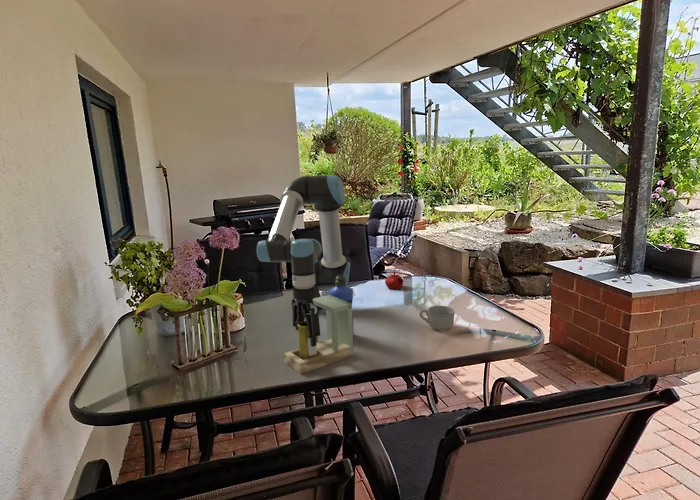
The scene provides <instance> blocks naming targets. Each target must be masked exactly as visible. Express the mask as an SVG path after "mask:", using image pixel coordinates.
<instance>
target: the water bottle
mask: <svg viewBox="0 0 700 500" xmlns="http://www.w3.org/2000/svg"><path fill="white" fill-rule="evenodd" d="M344 279H345V277H344V276H343V275H338V276H337V277H336V280H335V285H336V286H335V287H334V286H332V287H331V288H330V289H329V290H328V295H331V296H333V297H336V298H338V299H341V300H344V301H346V302H349V303H351V304H352V305H353V299H354V289H353V288H351V287H350V286H348V285H346V280H344ZM352 327H353V328H354V314H353V311H352ZM354 333H355V332H354V331H353V338H354Z"/></svg>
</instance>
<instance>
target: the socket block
mask: <svg viewBox="0 0 700 500" xmlns="http://www.w3.org/2000/svg"><path fill="white" fill-rule="evenodd" d="M316 349H317V354H316V356H315V357H312V358H309V359H306V360H302V359H301V358H299V349H298V348H295V349H292V350H289V351H285V352H283V359H284V360H283V362H284V364H286V365H287V366H289V367H290V368H291V369H292V370H294V371H296V372H297V373H299V374H300V375H301V374H304V373H307V372H311V371H314V370H316V369H319V368H321V367H325V366H327V365H329V364H333V363H336V362H338V361H341V360H344V359H347V358H349V357H351V356H352V355H351V348H350V346H348V345H346V344H344V343H342V342H340V341H338V351H335V352H334V351H333V350H332V338H330V339H327V338H326V339H325V340H321V341H318V342H317V345H316Z"/></svg>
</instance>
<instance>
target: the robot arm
mask: <svg viewBox="0 0 700 500" xmlns="http://www.w3.org/2000/svg"><path fill="white" fill-rule="evenodd" d="M345 195H346V194H345V187H344V183H343V180H342V179H341V177H339V176H338V175H329V174H328V175H305V176H300V177H298V178H295V179H294V180H293V181H291V182H290V183H289V184H287V185H286V187H285V188H284V189H283V190H282V193H281V195H280V200H279V201H280V205H279V207H278V210H277V212H276V216H275V219H274V221H273V223H272V226H271V229H270V232H269V234H268V237H267V239H264V240H260V241H257V245H256V257H257V259H258V260H259V261H260V262H266V263H291V274H292V275H291V276H292V277H291V280H292V286H293V287H292V299H291V304H290V305H291V310H292V327H293V328H294V327H295V331H296V337H297V338H296V339H297V349H299V340H298V323H299V322H302V321H306V323H307V327H308V332H309V336H308V351H309V356H311V355H314V354H317V349H316V345H317V343H316V337H317V336H318V337H320V336H321V327H320V316H319V313H320V310H321V309H322V308H321V307H319V306H317V307H315V306H314V303H313V299H314V298H318V297H322V296H321V292H320V287H335V286H336V285H335V280H336V277H337V276H338V275H343V276H344V277H345V279H344V280H346V286H348V284H349V279H350V272H351V271H350V269H351V262H350V261H347V257H346V256H344V255H343V249H342V238H341V237H342V236H341V225H340V213H339V210H340V209H341V208H342V204H344V203H345V202H346V201H345V199H346V198H345ZM304 205H313V206H314V207H313V209H314V210H315V211H316V212H318V220H319V227H320V228H319V229H320V234H321V235H320V237H321V242H320V241H318V240H317V239H315V238H298V239H297V238H296V239H294V240H290V237H291V235H292V232H293V228H294V225H295V223H296V220H297V217H298V213H299V211H300V210H301V208H303V206H304ZM322 253H323V254H322ZM321 254H322V255H323V257H322V258H321V260H320V261H319V258H320V257H321Z"/></svg>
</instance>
